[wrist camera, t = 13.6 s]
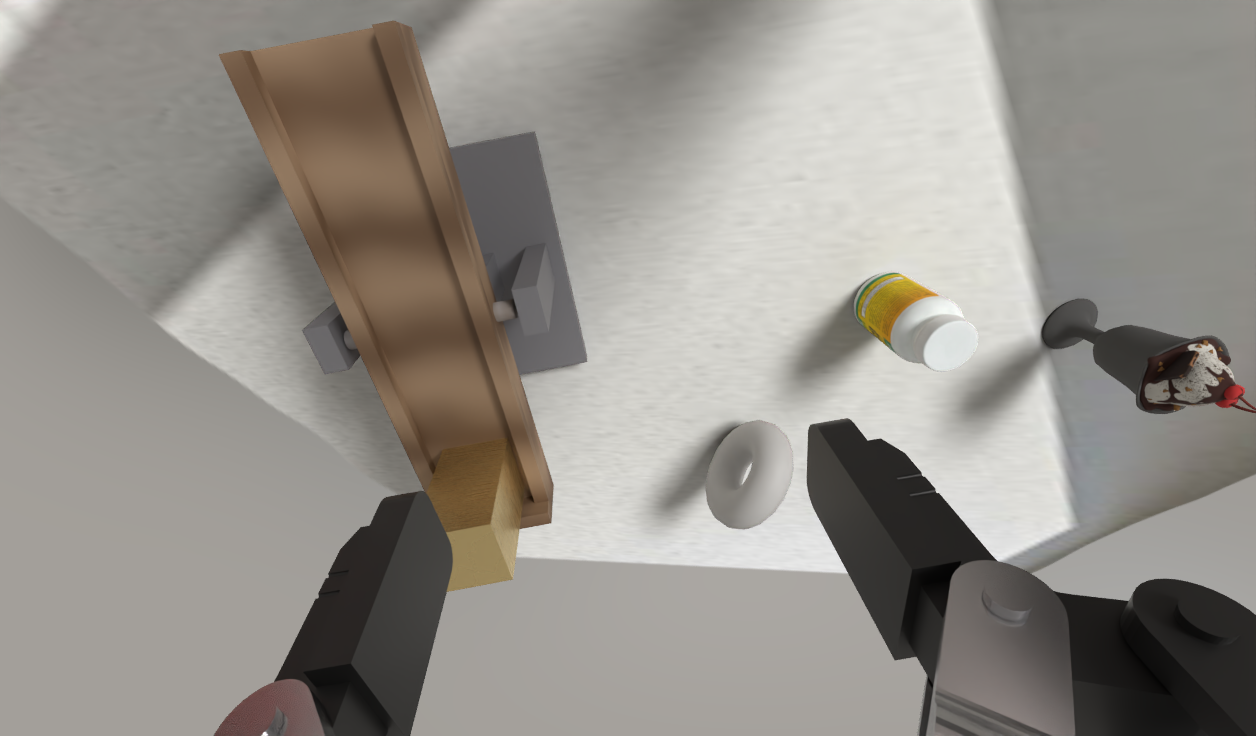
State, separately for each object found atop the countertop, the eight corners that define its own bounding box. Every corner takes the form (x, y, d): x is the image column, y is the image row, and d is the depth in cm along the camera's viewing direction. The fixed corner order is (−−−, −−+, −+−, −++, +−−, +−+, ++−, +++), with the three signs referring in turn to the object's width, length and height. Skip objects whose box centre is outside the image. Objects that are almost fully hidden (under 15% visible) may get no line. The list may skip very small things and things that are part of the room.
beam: (229, 62, 26) (173, 58, 22) (435, 22, 26) (412, 12, 22) (436, 507, 40) (422, 547, 36) (568, 482, 40) (567, 520, 36)
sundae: (1102, 342, 49) (1296, 434, 36) (1031, 364, 49) (1196, 463, 36) (1111, 279, 46) (1327, 354, 33) (1035, 303, 46) (1217, 387, 33)
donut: (749, 394, 48) (788, 461, 40) (777, 409, 49) (821, 477, 41) (689, 469, 52) (711, 546, 43) (716, 481, 53) (744, 559, 44)
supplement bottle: (924, 280, 44) (1005, 324, 36) (890, 335, 47) (959, 388, 38) (871, 261, 43) (943, 302, 35) (839, 318, 45) (899, 370, 37)
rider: (442, 449, 35) (409, 539, 28) (507, 437, 35) (490, 524, 28) (463, 498, 37) (437, 593, 30) (524, 487, 37) (512, 579, 30)
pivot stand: (311, 174, 36) (215, 203, 27) (534, 131, 36) (519, 145, 27) (406, 389, 45) (359, 471, 35) (586, 355, 45) (589, 427, 35)
